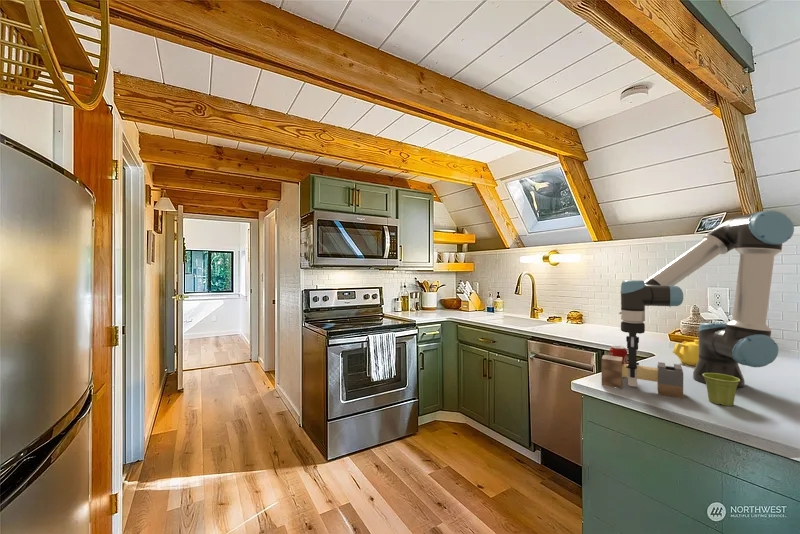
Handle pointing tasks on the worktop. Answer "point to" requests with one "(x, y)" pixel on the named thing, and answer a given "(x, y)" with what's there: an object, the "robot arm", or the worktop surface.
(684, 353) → the teapot
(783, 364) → the worktop surface
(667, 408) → the worktop surface
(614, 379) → the socket
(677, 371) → the sleeve
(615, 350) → the beverage can
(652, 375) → the rod
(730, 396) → the plant pot
